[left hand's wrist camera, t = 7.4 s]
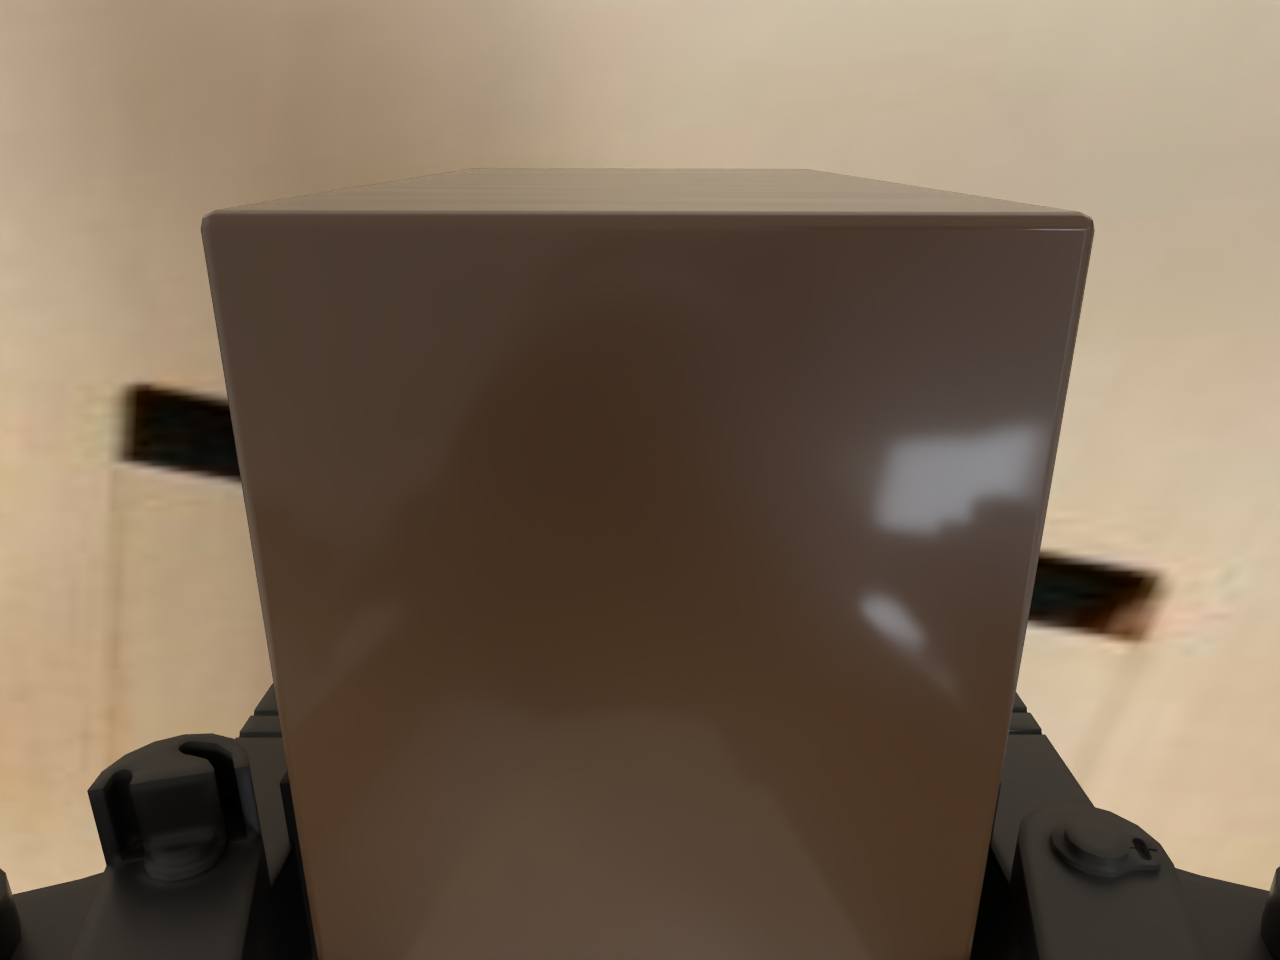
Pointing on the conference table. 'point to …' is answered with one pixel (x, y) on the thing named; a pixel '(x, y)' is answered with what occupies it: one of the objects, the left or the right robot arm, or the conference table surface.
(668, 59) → the conference table surface
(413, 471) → the post
